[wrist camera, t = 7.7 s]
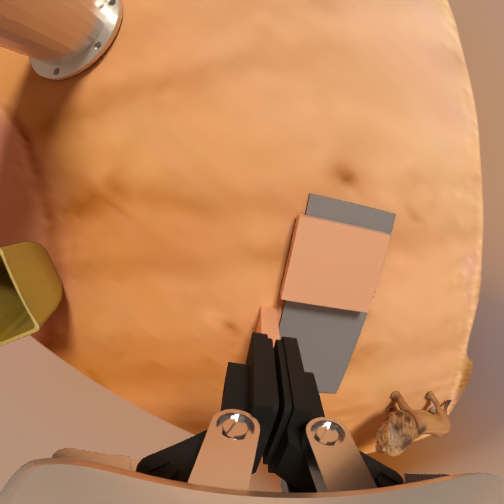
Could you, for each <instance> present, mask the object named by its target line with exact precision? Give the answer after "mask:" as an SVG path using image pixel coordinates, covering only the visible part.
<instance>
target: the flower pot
mask: <svg viewBox="0 0 504 504" xmlns="http://www.w3.org/2000/svg"><path fill="white" fill-rule="evenodd" d="M62 292H63V288H62V282H61V280H60V278H59V276H58V274H57V272H56V270H55V268H54V266H53V264H52V262H51V259H50V257H49V255H48V253H47V251H46V249H45V248H44V247H42V246H41V245H39V244H37V243H34V242H22V243H17V244H13V245H9V246H5V247H1V248H0V346H2V345H5V344H7V343H10V342H12V341H14V340H17V339H20V338H22V337H25V336H28V335H30V334H33V333H36V332H37V331H39V330H40V329H41V328H42V326H43V325H44V324H45V323H46V321H47V320H48V319H49V318H50V316H51V315H52V314H53V313H54V312H55V310H56V309H57V307H58V306H59V304H60V301H61V298H62Z"/></svg>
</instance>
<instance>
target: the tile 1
mask: <svg viewBox="0 0 504 504" xmlns="http://www.w3.org/2000/svg"><path fill="white" fill-rule="evenodd" d="M255 332H256V333H263V334H267V335H268V338H271V339H273V348H274V344H275V341H276V339H279V340H280V335H279V326H278V318H277V310H276V308H271V307H265V306H261V308H260V313H259V317H258V322H257V326H256V331H255Z"/></svg>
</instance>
